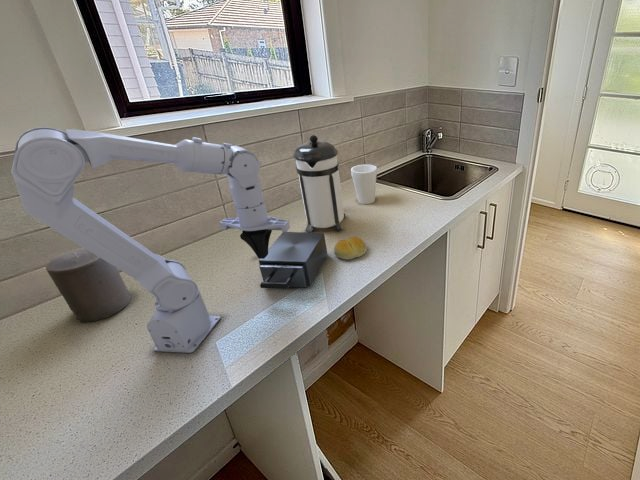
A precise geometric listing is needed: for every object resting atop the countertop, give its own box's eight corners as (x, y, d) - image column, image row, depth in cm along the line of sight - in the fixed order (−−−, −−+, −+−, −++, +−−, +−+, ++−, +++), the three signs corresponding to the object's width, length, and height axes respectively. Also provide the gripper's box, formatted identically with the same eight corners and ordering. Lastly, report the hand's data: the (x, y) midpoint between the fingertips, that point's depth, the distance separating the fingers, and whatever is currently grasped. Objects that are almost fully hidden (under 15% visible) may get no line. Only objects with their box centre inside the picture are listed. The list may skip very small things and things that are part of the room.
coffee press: (360, 222, 112) (352, 134, 99) (318, 241, 102) (302, 145, 89) (332, 207, 123) (321, 125, 110) (291, 222, 113) (273, 134, 99)
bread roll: (332, 248, 98) (330, 237, 96) (362, 242, 102) (360, 230, 100) (337, 264, 92) (336, 251, 90) (369, 256, 95) (368, 244, 93)
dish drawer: (298, 300, 77) (293, 280, 75) (254, 298, 78) (248, 279, 75) (322, 257, 93) (319, 239, 90) (286, 256, 93) (282, 238, 91)
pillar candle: (72, 329, 71) (35, 272, 64) (80, 303, 78) (47, 249, 71) (131, 309, 76) (102, 255, 69) (133, 287, 83) (107, 235, 76)
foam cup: (383, 199, 129) (381, 167, 124) (368, 208, 122) (365, 174, 117) (365, 193, 134) (362, 162, 128) (349, 202, 127) (345, 169, 121)
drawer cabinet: (310, 287, 83) (305, 261, 80) (265, 285, 84) (258, 260, 80) (327, 255, 95) (324, 232, 92) (288, 254, 96) (283, 231, 92)
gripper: (290, 196, 74) (300, 247, 80) (227, 194, 75) (242, 245, 81) (276, 210, 68) (288, 265, 74) (207, 208, 69) (225, 262, 75)
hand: (263, 256), depth 77 cm, fingers closed
